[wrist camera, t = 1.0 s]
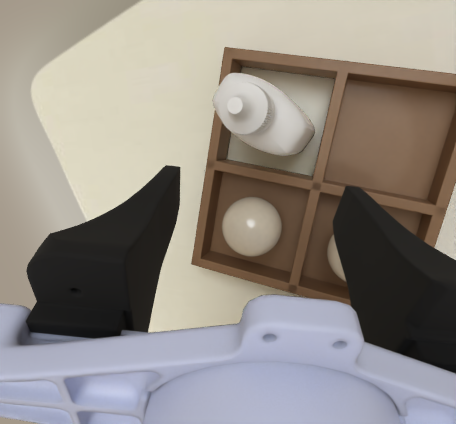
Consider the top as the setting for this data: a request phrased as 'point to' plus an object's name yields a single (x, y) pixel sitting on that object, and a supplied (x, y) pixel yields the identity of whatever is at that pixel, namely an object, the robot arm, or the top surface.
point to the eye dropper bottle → (262, 115)
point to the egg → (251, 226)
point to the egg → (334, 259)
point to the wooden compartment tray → (336, 169)
